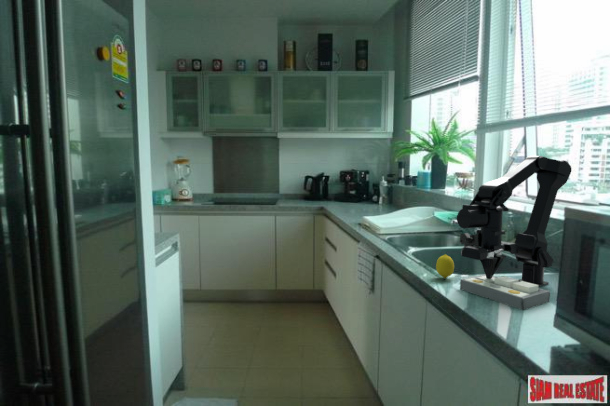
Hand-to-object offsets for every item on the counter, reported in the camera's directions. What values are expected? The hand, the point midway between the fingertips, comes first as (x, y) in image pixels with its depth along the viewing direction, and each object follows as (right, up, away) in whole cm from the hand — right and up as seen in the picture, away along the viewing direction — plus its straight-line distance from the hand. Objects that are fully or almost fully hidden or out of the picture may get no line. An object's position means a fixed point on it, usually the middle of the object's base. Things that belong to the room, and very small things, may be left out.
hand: (488, 278), depth 112 cm
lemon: (-9, -2, +11) cm, 15 cm away
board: (+1, -4, -5) cm, 7 cm away
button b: (+3, -2, -5) cm, 6 cm away
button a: (0, -2, 0) cm, 3 cm away
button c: (+5, -2, -9) cm, 11 cm away
